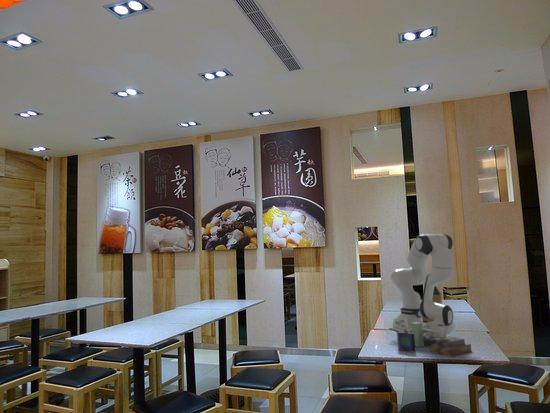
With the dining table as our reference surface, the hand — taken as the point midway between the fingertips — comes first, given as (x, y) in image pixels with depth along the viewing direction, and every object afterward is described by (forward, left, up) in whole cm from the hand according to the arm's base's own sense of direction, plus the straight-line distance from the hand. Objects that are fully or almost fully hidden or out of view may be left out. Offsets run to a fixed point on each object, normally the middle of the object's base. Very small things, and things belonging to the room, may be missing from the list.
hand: (416, 333), depth 218 cm
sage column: (0, +1, -7) cm, 7 cm away
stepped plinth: (+18, +3, -7) cm, 19 cm away
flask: (+2, -11, -7) cm, 13 cm away
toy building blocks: (-34, +60, -7) cm, 70 cm away
